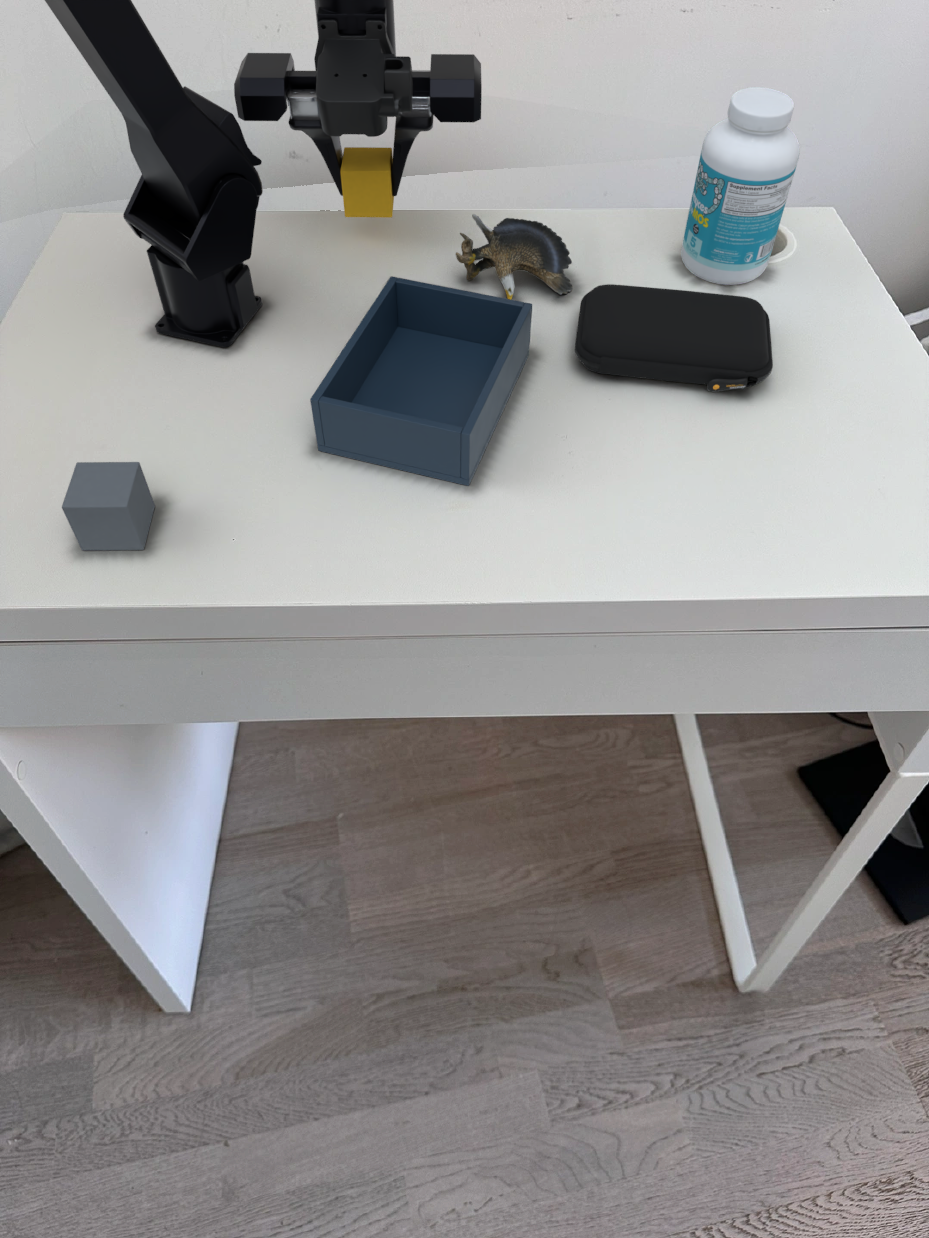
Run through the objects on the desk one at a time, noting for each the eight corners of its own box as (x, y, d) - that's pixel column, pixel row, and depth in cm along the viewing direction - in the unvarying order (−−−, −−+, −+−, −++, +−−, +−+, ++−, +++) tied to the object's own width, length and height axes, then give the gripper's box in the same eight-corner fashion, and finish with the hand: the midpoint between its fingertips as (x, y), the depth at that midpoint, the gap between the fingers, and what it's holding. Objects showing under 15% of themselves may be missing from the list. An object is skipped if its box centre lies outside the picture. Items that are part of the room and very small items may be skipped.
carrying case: (569, 389, 70) (768, 410, 69) (573, 355, 68) (780, 376, 67) (580, 306, 77) (762, 324, 76) (584, 273, 74) (773, 290, 73)
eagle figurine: (460, 308, 75) (574, 293, 73) (449, 211, 72) (566, 194, 71) (473, 306, 82) (577, 293, 80) (463, 218, 80) (569, 202, 78)
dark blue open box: (317, 451, 66) (309, 399, 63) (393, 327, 75) (390, 276, 71) (469, 486, 64) (469, 435, 61) (528, 355, 73) (532, 303, 69)
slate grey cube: (81, 550, 60) (60, 507, 57) (95, 506, 63) (76, 461, 60) (144, 550, 60) (126, 506, 57) (155, 505, 63) (139, 461, 60)
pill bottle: (678, 237, 83) (711, 75, 73) (763, 244, 83) (809, 81, 72) (678, 285, 79) (713, 120, 68) (768, 293, 78) (817, 127, 68)
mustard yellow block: (344, 217, 79) (340, 171, 76) (348, 193, 82) (344, 147, 78) (392, 218, 79) (389, 171, 76) (394, 193, 82) (392, 147, 78)
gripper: (203, 28, 62) (245, 245, 75) (484, 30, 62) (479, 247, 75) (228, -34, 69) (263, 175, 81) (482, -32, 69) (478, 176, 82)
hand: (368, 193), depth 80 cm, fingers closed on mustard yellow block, 4 cm apart
